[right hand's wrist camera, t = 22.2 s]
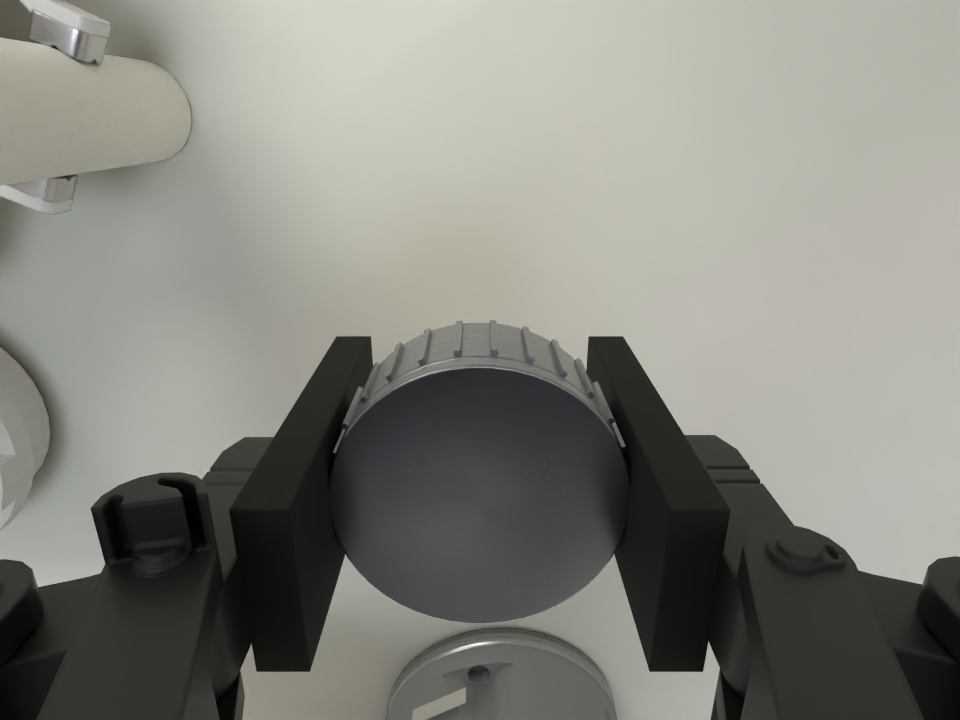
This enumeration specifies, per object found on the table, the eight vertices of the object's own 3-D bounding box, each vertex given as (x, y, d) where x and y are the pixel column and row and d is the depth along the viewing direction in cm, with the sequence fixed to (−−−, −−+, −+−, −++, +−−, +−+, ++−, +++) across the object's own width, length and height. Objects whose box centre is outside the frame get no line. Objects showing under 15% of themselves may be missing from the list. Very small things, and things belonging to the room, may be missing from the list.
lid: (293, 452, 12) (259, 515, 10) (468, 259, 11) (466, 291, 9) (488, 592, 13) (489, 671, 12) (667, 434, 12) (702, 495, 10)
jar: (162, 44, 29) (-193, -33, 13) (209, 143, 30) (-64, 174, 15) (76, 79, 29) (-361, 43, 14) (126, 175, 31) (-220, 236, 15)
